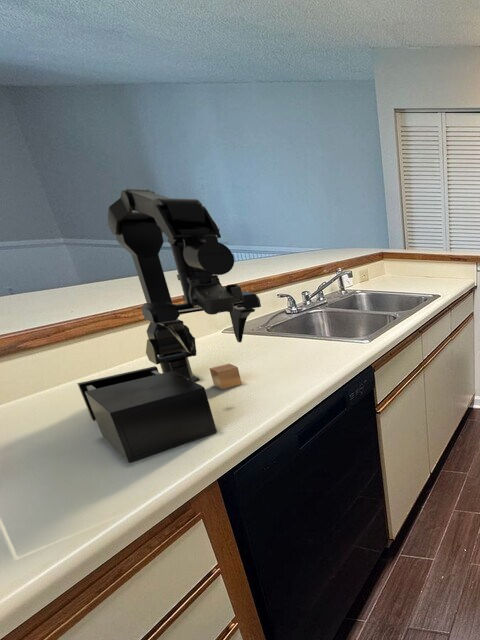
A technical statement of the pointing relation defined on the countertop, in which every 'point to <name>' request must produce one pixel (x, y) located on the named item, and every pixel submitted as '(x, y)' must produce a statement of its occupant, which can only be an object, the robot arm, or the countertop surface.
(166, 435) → the black slanted wedge box
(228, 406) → the countertop surface
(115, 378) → the rack
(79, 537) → the countertop surface
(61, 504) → the countertop surface
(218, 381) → the block
